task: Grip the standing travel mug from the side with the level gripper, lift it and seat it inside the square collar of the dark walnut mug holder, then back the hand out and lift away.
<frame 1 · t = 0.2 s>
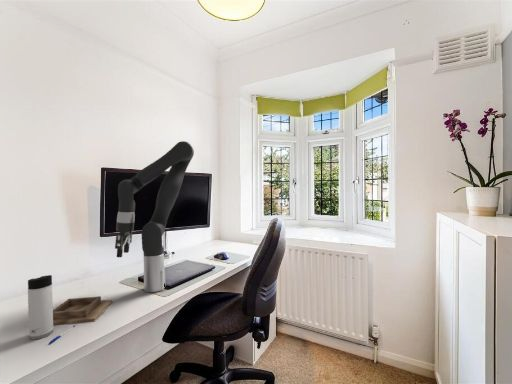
hand: (122, 254, 118), 18 cm above the table, tool pointing down, fingers open, 8 cm apart
travel mug: (41, 335, 84), on the table
mug holder: (77, 312, 98), on the table
ballpoint pen: (62, 336, 84), on the table
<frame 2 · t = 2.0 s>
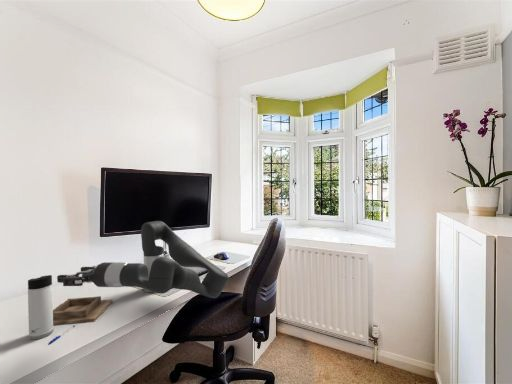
hand: (70, 274, 81), 21 cm above the table, tool horizontal, fingers open, 8 cm apart
nothing on the table moved.
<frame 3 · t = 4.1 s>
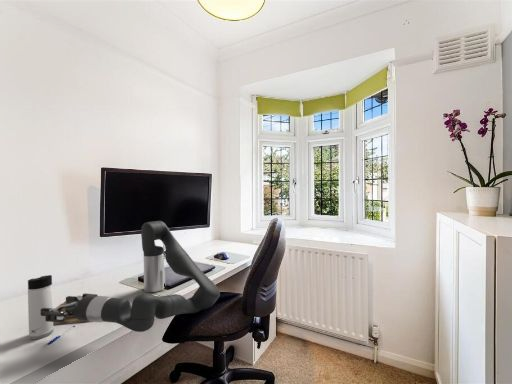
hand: (54, 305, 82), 11 cm above the table, tool horizontal, fingers open, 8 cm apart
nothing on the table moved.
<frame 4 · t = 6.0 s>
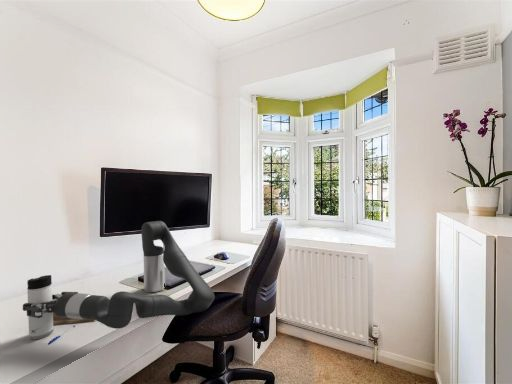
hand: (35, 301, 84), 11 cm above the table, tool horizontal, fingers closed on travel mug, 6 cm apart
travel mug: (41, 335, 84), on the table, touching gripper
everything else where it was.
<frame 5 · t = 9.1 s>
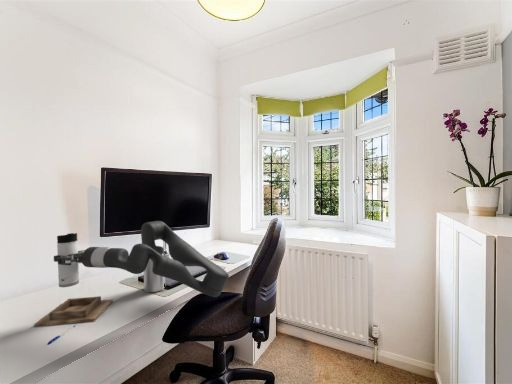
hand: (63, 255, 96), 24 cm above the table, tool horizontal, fingers closed on travel mug, 6 cm apart
travel mug: (69, 285, 95), point 12 cm above the table, touching gripper
everything else where it was.
when the fingers open (13 cm above the table, at t = 12.0 s): travel mug drops 1 cm, resting on mug holder.
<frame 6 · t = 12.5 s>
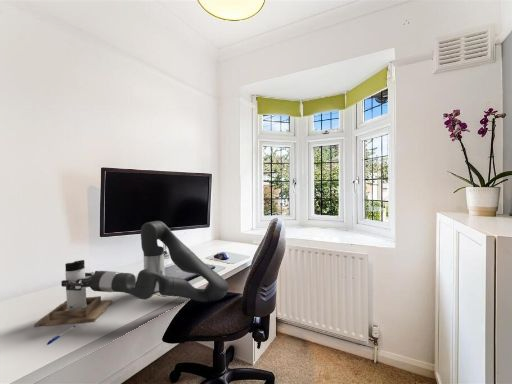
hand: (72, 279, 99), 14 cm above the table, tool horizontal, fingers open, 8 cm apart
travel mug: (77, 310, 98), point 1 cm above the table, touching mug holder
everything else where it was.
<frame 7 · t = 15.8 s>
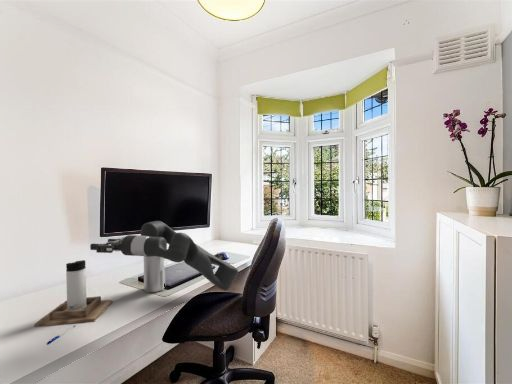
hand: (100, 244, 95), 28 cm above the table, tool horizontal, fingers open, 8 cm apart
nothing on the table moved.
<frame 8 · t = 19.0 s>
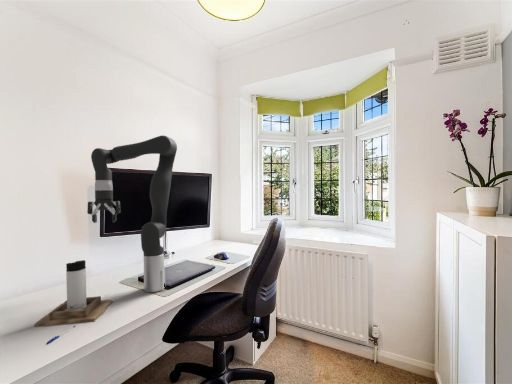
hand: (104, 222, 122), 33 cm above the table, tool pointing down, fingers open, 8 cm apart
nothing on the table moved.
at the end: travel mug 0.1 cm off-centre on the mug holder, point 0.8 cm above the mug holder's base; travel mug tilted 0°; the gripper is holding nothing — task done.
